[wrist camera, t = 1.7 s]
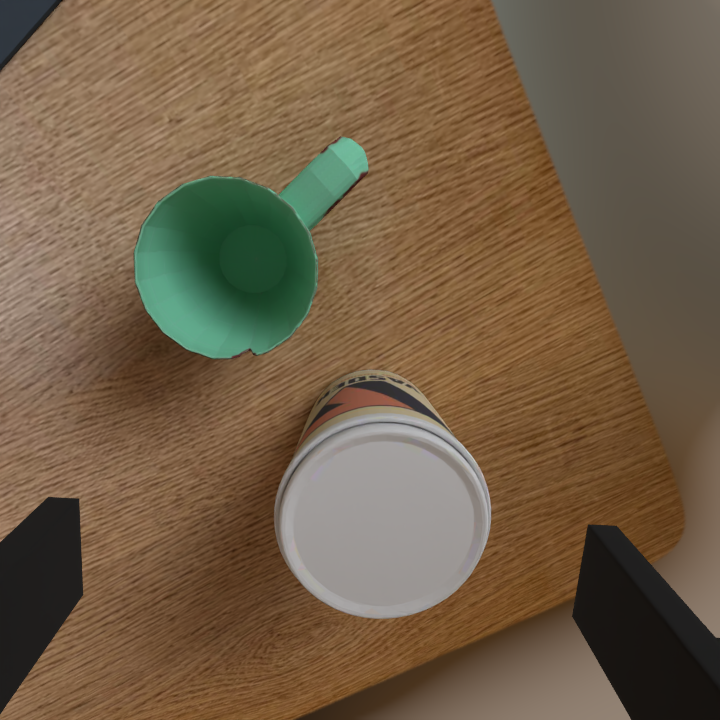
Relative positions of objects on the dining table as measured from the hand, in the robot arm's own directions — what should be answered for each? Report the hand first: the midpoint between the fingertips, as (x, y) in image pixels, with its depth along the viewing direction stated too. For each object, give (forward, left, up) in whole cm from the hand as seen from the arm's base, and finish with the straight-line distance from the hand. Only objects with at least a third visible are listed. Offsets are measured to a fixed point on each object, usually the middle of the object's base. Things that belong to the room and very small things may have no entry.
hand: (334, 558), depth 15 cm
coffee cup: (-4, +3, -21) cm, 21 cm away
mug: (+6, -5, -21) cm, 23 cm away
